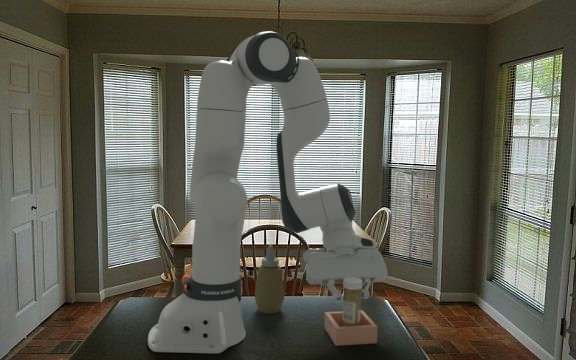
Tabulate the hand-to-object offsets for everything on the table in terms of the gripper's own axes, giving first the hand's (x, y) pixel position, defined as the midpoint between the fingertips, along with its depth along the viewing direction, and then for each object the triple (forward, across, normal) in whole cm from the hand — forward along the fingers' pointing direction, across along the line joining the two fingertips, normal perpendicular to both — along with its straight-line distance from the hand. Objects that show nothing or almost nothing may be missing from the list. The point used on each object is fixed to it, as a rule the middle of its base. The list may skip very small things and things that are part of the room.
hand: (352, 298), depth 111 cm
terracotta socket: (+6, 0, +7) cm, 9 cm away
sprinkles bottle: (+6, 0, +7) cm, 9 cm away
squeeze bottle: (-6, -17, +20) cm, 27 cm away
